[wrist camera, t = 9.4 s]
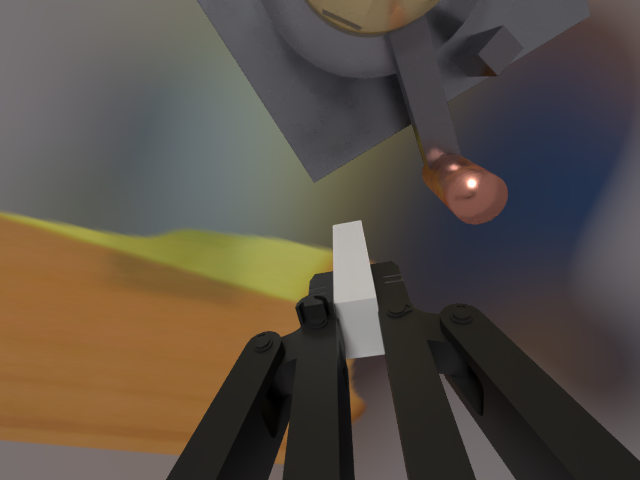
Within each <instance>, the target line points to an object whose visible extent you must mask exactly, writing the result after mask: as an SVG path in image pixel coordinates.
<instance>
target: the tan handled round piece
mask: <svg viewBox="0 0 640 480" xmlns="http://www.w3.org/2000/svg"><path fill="white" fill-rule="evenodd" d="M304 1H305V3H306V4H307V5H308V7H309V8H310V9H311V11H312V12H313V13H314V14H315V15H316V16H317V17H318V18H319V19H320V20H322V21H323V22H324V23H326V24H327V25H328V26H330V27H332V28H333V29H335V30H337V31H339V32H342V33H344V34H347V35H351V36H356V37H366V38H371V37H380V36H384V35H385V38H386V42H387V45H388V48H389V51H390V55H391V58H392V61H393V65H394V68H395V71H396V74H397V78H398V81H399V84H400V87H401V91H402V94H403V97H404V100H405V104H406V107H407V110H408V113H409V117H410V120H411V123H412V126H413V129H414V133H415V136H416V139H417V143H418V146H419V149H420V152H421V156H422V159H423V162H424V167H423V172H422V175H423V180H424V182H425V183H426V185H427V186H428V187H429V188H430V189H431V190H432V191H433V192H434V193H435V194H436V195H437V196H438V197H439V198H440V199H441V200H442V201H443V203H445V205H446V206H447V207H448V208H449V209H450V210H451V211H452V212H453V213H454V214H455V215H456V216H457V217H458V218H459V219H460V220H462V221H463V222H465V223H468V224H482V223H485V222H488V221H490V220H492V219H493V218H494V217H496V216H497V215H498V214H499V213H500V212H501V211H502V209H503V208H504V206H505V204H506V202H507V197H508V190H507V187H506V184H505V183H504V181H503V180H502V179H501V178H499V177H498V176H496V175H494V174H492V173H491V172H489V171H487V170H485V169H483V168H481V167H480V166H478V165H476V164H474V163H472V162H471V161H469V160H467V159H465V158H463V157H462V156H461V153H460V149H459V145H458V141H457V138H456V134H455V130H454V126H453V122H452V118H451V114H450V110H449V107H448V102H447V98H446V94H445V91H444V87H443V83H442V79H441V75H440V71H439V67H438V63H437V59H436V55H435V51H434V47H433V44H432V40H431V36H430V32H429V28H428V24H427V20H426V16H425V13H426V12H428V11H429V10H430V9H431V8H433V7H434V6H435V5H436V4H437V3H438V2H439V1H440V0H304Z"/></svg>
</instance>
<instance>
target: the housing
mask: <svg viewBox="0 0 640 480" xmlns="http://www.w3.org/2000/svg"><path fill="white" fill-rule="evenodd" d="M197 1H198V3H199V4H200V6H201V7H202V9H203V10H204V12H205V14H206V15H207V17H208V18H209V20H210V21H211V23H212V25H213V26H214V28H215V29H216V31H217V32H218V34H219V35H220V37H221V38H222V40H223V42H224V43H225V45H226V46H227V48H228V49H229V51H230V52H231V54H232V56H233V57H234V59H235V60H236V62H237V63H238V65H239V66H240V68H241V70H242V71H243V73H244V74H245V76H246V77H247V79H248V81H249V82H250V83H251V85H252V87H253V88H254V90H255V91H256V93H257V95H258V96H259V98H260V99H261V101H262V102H263V104H264V105H265V107H266V109H267V110H268V112H269V113H270V115H271V116H272V118H273V119H274V121H275V123H276V124H277V126H278V127H279V129H280V130H281V132H282V133H283V135H284V136H285V138H286V140H287V141H288V143H289V144H290V146H291V147H292V149H293V150H294V152H295V153H296V155H297V157H298V158H299V160H300V161H301V163H302V164H303V166H304V168H305V169H306V171H307V172H308V174H309V175H310V177H311V178H312V180H313V182H316V181H318V180H319V179H321V178H323V177H324V176H326V175H328V174H329V173H331V172H332V171H334V170H336V169H338V168H339V167H341V166H343V165H344V164H346V163H347V162H349V161H351V160H353V159H354V158H356V157H357V156H359V155H361V154H362V153H364V152H366V151H367V150H369V149H371V148H372V147H374V146H376V145H377V144H379V143H381V142H382V141H384V140H386V139H387V138H389V137H390V136H392V135H394V134H395V133H397V132H399V131H400V130H402V129H404V128H405V127H407V126H409V125H410V124H412V123H411V120H410V117H409V113H408V110H407V107H406V104H405V100H404V97H403V94H402V91H401V87H400V84H399V81H398V78H397V74H396V71H395V68H394V65H393V61H392V58H391V55H390V51H389V48H388V45H387V42H386V38H385V35H384V36H380V37H371V38H366V37H356V36H351V35H347V34H344V33H342V32H339V31H337V30H335V29H333V28H332V27H330V26H328V25H327V24H326V23H324V22H323V21H322V20H320V19H319V18H318V17H317V16H316V15H315V14H314V13H313V12H312V11H311V9H310V8H309V7H308V5H307V4H306V3H305V1H304V0H197ZM425 16H426V20H427V24H428V28H429V32H430V36H431V40H432V44H433V47H434V51H435V55H436V59H437V63H438V67H439V71H440V75H441V79H442V83H443V87H444V91H445V94H446V98H447V102H448V101H450V100H451V99H453V98H455V97H457V96H458V95H460V94H462V93H463V92H465V91H467V90H468V89H470V88H471V87H473V86H475V85H476V84H478V83H480V82H481V81H483V80H485V79H486V78H488V77H490V76H499V75H500V73H501V72H502V71H503V70H504V69H505V68H506V67H507V66H508V65H509V64H511V63H513V62H514V61H516V60H518V59H519V58H521V57H522V56H524V55H526V54H528V53H529V52H531V51H532V50H534V49H536V48H537V47H539V46H541V45H542V44H544V43H546V42H547V41H549V40H551V39H552V38H554V37H556V36H557V35H559V34H560V33H562V32H564V31H566V30H567V29H569V28H571V27H572V26H574V25H576V24H577V23H579V22H580V21H582V20H584V19H585V18H587V17H589V16H590V11H589V6H588V1H587V0H440V1H439V2H438V3H437V4H436V5H435V6H434V7H433V8H431V9H430V10H429V11H428V12H426V13H425Z"/></svg>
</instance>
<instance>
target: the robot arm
mask: <svg viewBox="0 0 640 480" xmlns="http://www.w3.org/2000/svg"><path fill="white" fill-rule="evenodd" d="M295 308H296V312H297V315H298V318H299V321H300V325H301V327H300V328H299V329H298V330H296V331H295V332H293V333H291V334H288V335H286V336H283V337H280V335H279V334H277V333H276V332H272V331H268V332H262V333H260V334H257V335H256V336H254V337H253V338H251V340H250V341H249V342H248V343H247V345H246V346H245V348H244V350H243V351H242V353H241V355H240V356H239V358H238V360H237V361H236V363H235V365H234V366H233V368H232V370H231V371H230V373H229V375H228V376H227V378H226V380H225V381H224V383H223V385H222V386H221V388H220V390H219V392H218V393H217V395H216V397H215V398H214V400H213V402H212V403H211V405H210V407H209V408H208V410H207V412H206V413H205V415H204V417H203V418H202V420H201V422H200V423H199V425H198V427H197V428H196V430H195V432H194V433H193V435H192V437H191V439H190V440H189V442H188V444H187V445H186V447H185V449H184V450H183V452H182V454H181V455H180V457H179V459H178V460H177V462H176V464H175V465H174V467H173V469H172V470H171V472H170V474H169V476H168V477H167V479H166V480H268V478H269V476H270V473H271V470H272V467H273V464H274V462H275V459H276V456H277V453H278V450H279V448H280V445H281V442H282V439H283V436H284V434H285V431H286V428H287V425H288V422H289V429H288V437H287V446H286V454H285V463H284V471H283V480H355V475H354V459H353V443H352V425H351V409H350V392H349V375H348V368H347V364H346V357H347V359H351V358H359V357H366V356H374V355H383V354H385V358H386V364H387V370H388V376H389V380H390V386H391V391H392V396H393V402H394V407H395V413H396V418H397V424H398V429H399V434H400V440H401V444H402V451H403V456H404V461H405V467H406V472H407V477H408V480H476V478H475V476H474V472H473V470H472V467H471V464H470V461H469V458H468V456H467V453H466V450H465V447H464V444H463V441H462V438H461V436H460V433H459V430H458V427H457V424H456V421H455V419H454V416H453V413H452V411H451V407H450V404H449V402H448V399H447V396H446V393H445V390H444V387H443V385H442V382H441V379H440V376H439V373H440V374H444V376H445V378H446V379H447V381H448V382H449V384H450V385H451V387H452V388H453V389H454V391H455V392H456V394H457V395H458V397H459V398H460V400H461V401H462V403H463V404H464V405H465V407H466V408H467V410H468V411H469V412H470V414H471V415H472V417H473V418H474V420H475V421H476V422H477V424H478V426H479V427H480V428H481V430H482V431H483V433H484V434H485V435H486V437H487V438H488V440H489V441H490V443H491V444H492V446H493V447H494V449H495V450H496V452H497V453H498V454H499V456H500V457H501V458H502V460H503V462H504V463H505V464H506V466H507V467H508V469H509V470H510V471H511V473H512V474H513V476H514V477H515V479H516V480H640V461H639V460H638V459H637V458H636V457H635V456H634V455H633V454H632V453H631V452H629V450H627V449H626V448H625V447H624V446H623V445H622V444H621V443H620V442H619V441H618V440H617V439H616V438H615V437H614V436H612V435H611V434H610V433H609V432H608V431H607V430H606V429H605V428H604V427H603V426H602V425H601V424H600V423H598V422H597V420H596V419H594V418H593V417H592V416H591V415H590V414H589V413H588V412H587V411H586V410H585V409H584V408H583V407H582V406H580V404H578V403H577V402H576V401H575V400H574V399H573V398H572V397H571V396H570V395H569V394H568V393H567V392H566V391H565V390H564V389H562V388H561V387H560V386H559V385H558V384H557V383H556V382H555V381H554V380H553V379H552V378H551V377H550V376H549V375H548V374H546V373H545V372H544V371H543V370H542V369H541V368H540V367H539V366H538V365H537V364H536V363H535V362H534V361H533V360H531V359H530V358H529V357H528V356H527V355H526V354H525V353H524V352H523V351H522V350H521V349H520V348H519V347H518V346H517V345H515V343H514V342H512V341H511V340H510V339H509V338H508V337H507V336H506V335H505V334H504V333H503V332H502V331H501V330H500V329H499V328H497V327H496V326H495V325H494V324H493V323H492V322H491V321H490V320H489V319H488V318H487V317H486V316H485V315H484V314H483V313H482V312H480V311H479V310H478V309H476V308H475V307H473V306H470V305H467V304H452V305H449V306H447V307H445V308H444V309H443V310H442V311H441V312H440V314H434V313H427V312H423V311H420V310H418V309H416V308H415V307H414V306H413V304H412V303H411V302H410V299H409V297H408V293H407V290H406V287H405V285H404V282H403V279H402V276H401V273H400V270H399V267H398V266H397V265H396V264H394V263H393V262H392V261H390V262H383V263H377V264H371V265H370V263H369V258H368V253H367V248H366V243H365V238H364V233H363V228H362V223H361V221H355V222H350V223H343V224H338V225H333V271H332V272H326V273H320V274H315V275H314V276H313V278H312V279H311V281H310V285H309V295H308V296H306V297H304V298H302V299H301V300H300V301H299V302H298V303H297V305H296V307H295Z"/></svg>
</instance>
